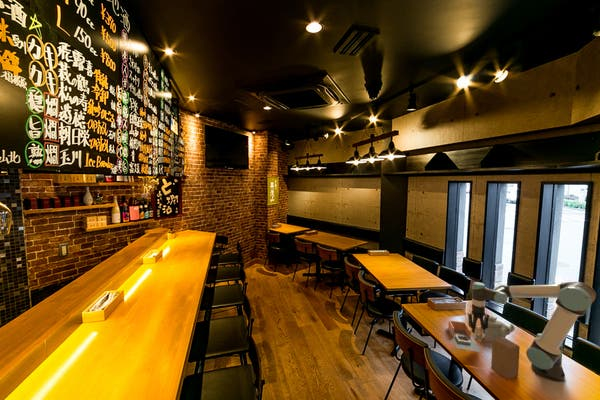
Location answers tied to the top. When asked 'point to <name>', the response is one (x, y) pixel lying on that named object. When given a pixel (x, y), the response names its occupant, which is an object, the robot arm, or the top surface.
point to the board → (471, 347)
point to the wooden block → (505, 357)
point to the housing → (459, 328)
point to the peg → (478, 333)
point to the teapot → (497, 329)
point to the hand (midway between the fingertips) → (478, 337)
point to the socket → (462, 340)
